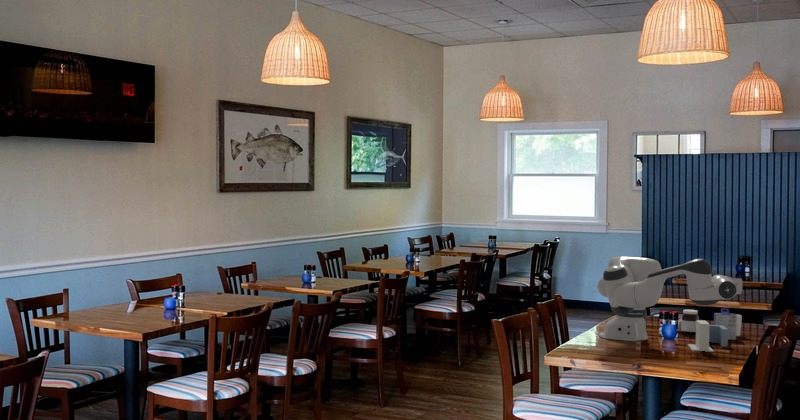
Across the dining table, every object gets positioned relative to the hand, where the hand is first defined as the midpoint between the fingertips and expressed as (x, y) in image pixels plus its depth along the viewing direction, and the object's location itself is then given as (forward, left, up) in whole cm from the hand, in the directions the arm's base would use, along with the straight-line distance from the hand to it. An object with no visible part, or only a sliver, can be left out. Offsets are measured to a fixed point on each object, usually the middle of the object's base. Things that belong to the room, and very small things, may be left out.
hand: (713, 281), depth 341 cm
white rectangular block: (-2, +12, -31) cm, 34 cm away
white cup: (+20, +57, -32) cm, 69 cm away
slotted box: (+6, +29, -32) cm, 44 cm away
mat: (-2, +15, -32) cm, 35 cm away
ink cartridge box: (+14, +45, -32) cm, 57 cm away
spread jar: (-2, +56, -32) cm, 65 cm away
